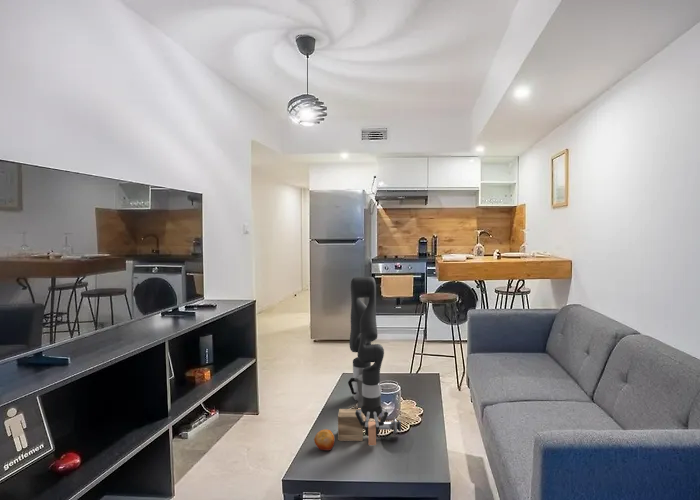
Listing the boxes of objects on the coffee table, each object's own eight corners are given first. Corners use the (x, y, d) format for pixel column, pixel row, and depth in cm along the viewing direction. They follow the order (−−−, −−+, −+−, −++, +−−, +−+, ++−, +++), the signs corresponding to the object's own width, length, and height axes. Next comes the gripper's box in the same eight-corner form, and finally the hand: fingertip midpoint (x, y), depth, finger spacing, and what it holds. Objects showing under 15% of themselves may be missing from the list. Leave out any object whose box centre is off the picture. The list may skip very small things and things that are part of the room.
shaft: (358, 428, 186) (357, 416, 185) (400, 429, 185) (400, 416, 184) (357, 435, 180) (357, 422, 180) (401, 435, 179) (401, 422, 179)
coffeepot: (375, 401, 218) (374, 366, 216) (382, 409, 209) (381, 372, 207) (346, 406, 213) (345, 370, 212) (351, 414, 204) (350, 376, 203)
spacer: (368, 436, 179) (368, 421, 179) (375, 436, 179) (375, 421, 179) (368, 445, 172) (368, 429, 172) (376, 445, 172) (375, 429, 172)
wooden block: (339, 431, 187) (339, 408, 187) (363, 431, 187) (362, 408, 186) (338, 440, 179) (337, 417, 179) (362, 440, 179) (362, 417, 178)
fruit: (338, 438, 178) (335, 427, 174) (333, 457, 172) (330, 445, 168) (320, 436, 180) (316, 425, 176) (314, 454, 174) (310, 443, 170)
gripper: (388, 389, 178) (389, 430, 179) (354, 389, 179) (355, 430, 180) (389, 397, 170) (389, 439, 172) (353, 397, 171) (354, 439, 172)
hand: (372, 434), depth 176 cm, fingers closed on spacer, 3 cm apart
